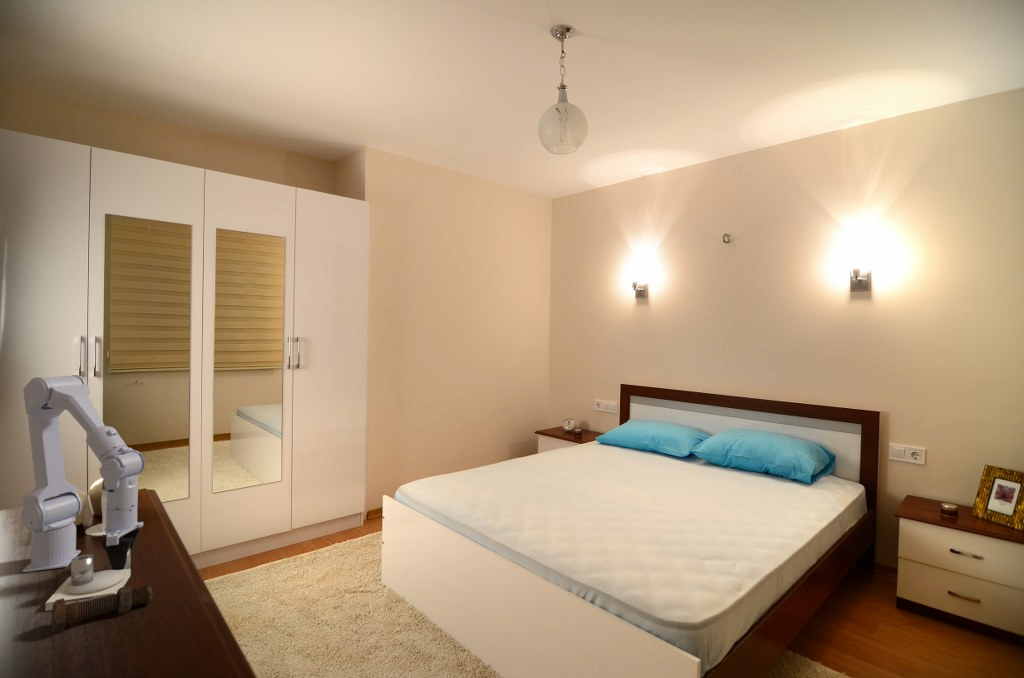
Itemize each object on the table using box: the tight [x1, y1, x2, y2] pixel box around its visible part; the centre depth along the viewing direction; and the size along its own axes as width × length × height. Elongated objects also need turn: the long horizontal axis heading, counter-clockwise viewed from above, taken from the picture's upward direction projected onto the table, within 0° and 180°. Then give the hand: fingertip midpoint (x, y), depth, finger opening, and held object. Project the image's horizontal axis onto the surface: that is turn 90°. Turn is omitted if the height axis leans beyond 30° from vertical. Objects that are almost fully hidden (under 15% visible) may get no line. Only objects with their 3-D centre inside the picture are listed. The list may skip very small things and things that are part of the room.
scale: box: [44, 568, 132, 612], centre depth 109 cm, size 12×11×2 cm
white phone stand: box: [85, 479, 107, 537], centre depth 145 cm, size 12×11×15 cm
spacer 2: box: [110, 548, 132, 570], centre depth 119 cm, size 4×4×5 cm
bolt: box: [51, 585, 154, 634], centre depth 100 cm, size 6×5×15 cm
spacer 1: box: [70, 554, 95, 586], centre depth 109 cm, size 4×4×5 cm
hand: (121, 565), depth 119 cm, fingers closed on spacer 2, 4 cm apart
